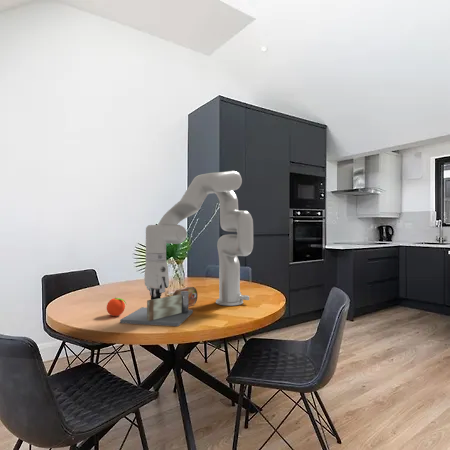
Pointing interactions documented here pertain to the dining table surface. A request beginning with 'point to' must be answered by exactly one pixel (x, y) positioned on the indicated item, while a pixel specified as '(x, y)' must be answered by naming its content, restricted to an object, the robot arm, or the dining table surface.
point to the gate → (164, 307)
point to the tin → (189, 295)
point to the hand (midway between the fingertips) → (155, 306)
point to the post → (184, 301)
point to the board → (141, 318)
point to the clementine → (116, 306)
